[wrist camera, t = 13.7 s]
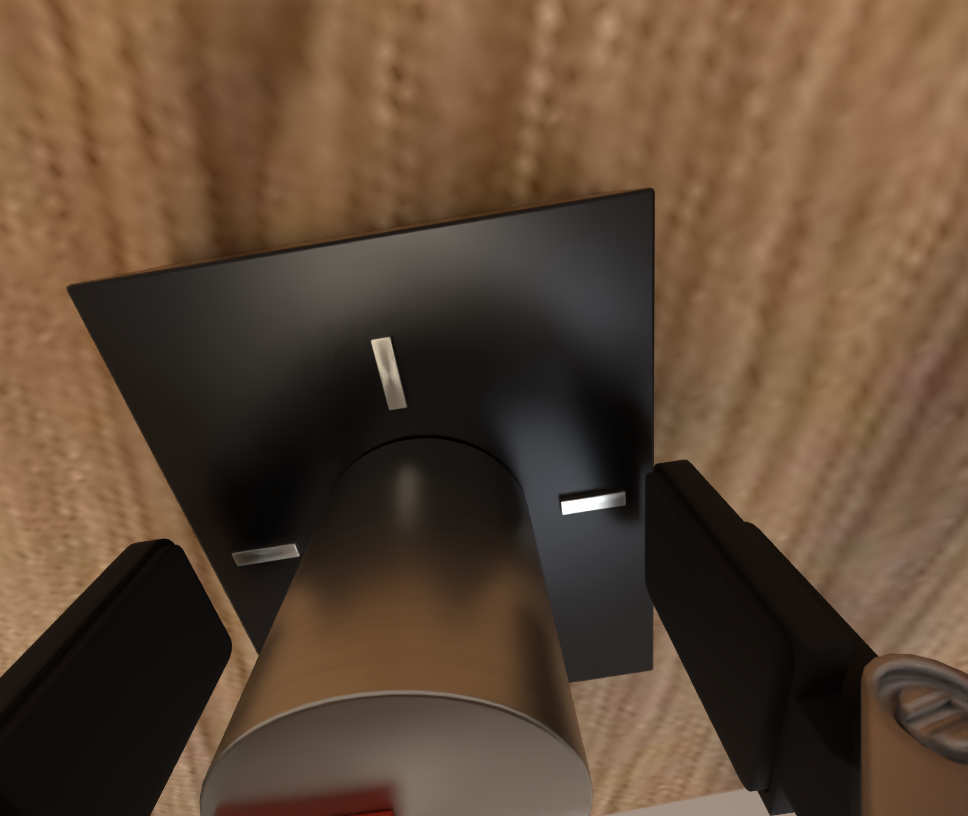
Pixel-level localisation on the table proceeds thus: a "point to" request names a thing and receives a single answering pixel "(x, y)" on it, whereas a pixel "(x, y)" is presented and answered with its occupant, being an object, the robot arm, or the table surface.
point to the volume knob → (410, 658)
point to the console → (409, 391)
